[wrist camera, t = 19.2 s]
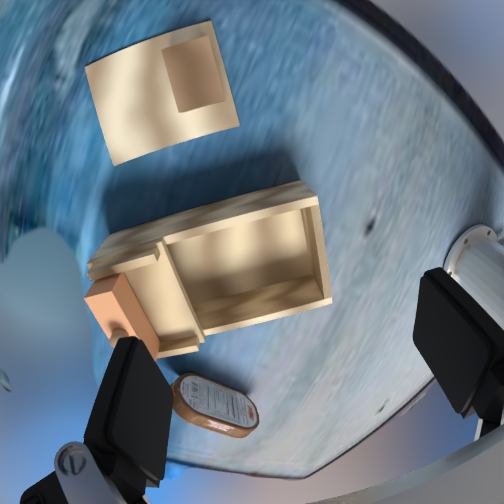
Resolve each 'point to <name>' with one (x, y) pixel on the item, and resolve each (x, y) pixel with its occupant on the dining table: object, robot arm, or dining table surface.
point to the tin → (213, 406)
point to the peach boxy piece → (120, 311)
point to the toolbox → (223, 264)
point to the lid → (162, 92)
